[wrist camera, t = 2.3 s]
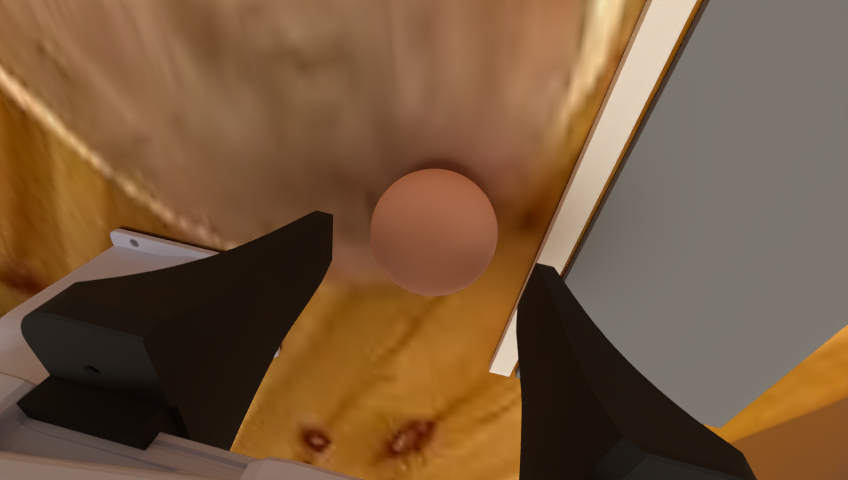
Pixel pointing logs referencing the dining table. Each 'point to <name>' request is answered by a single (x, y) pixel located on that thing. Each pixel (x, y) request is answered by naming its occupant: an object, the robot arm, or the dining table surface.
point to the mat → (714, 201)
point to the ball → (434, 232)
